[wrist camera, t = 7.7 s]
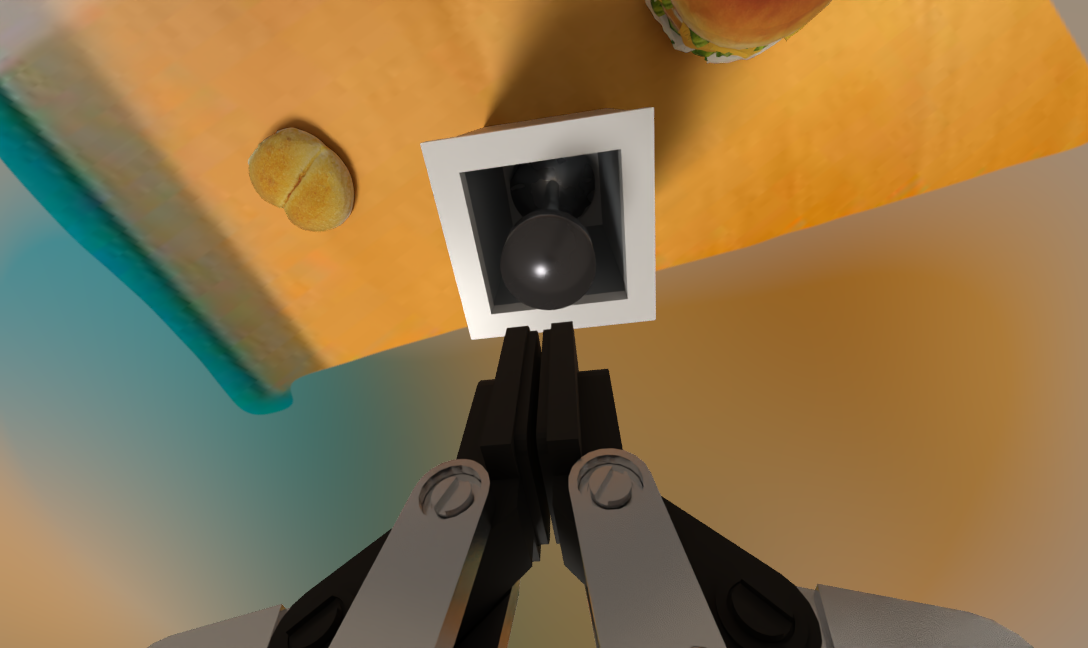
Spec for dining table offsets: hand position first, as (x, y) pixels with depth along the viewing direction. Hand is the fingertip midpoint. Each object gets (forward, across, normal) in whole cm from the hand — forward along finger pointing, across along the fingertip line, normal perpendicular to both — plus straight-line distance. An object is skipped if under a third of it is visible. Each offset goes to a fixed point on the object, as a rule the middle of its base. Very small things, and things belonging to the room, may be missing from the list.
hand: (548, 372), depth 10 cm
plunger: (+30, 0, +1) cm, 30 cm away
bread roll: (+32, +24, -2) cm, 39 cm away
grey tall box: (+31, 0, +1) cm, 31 cm away
